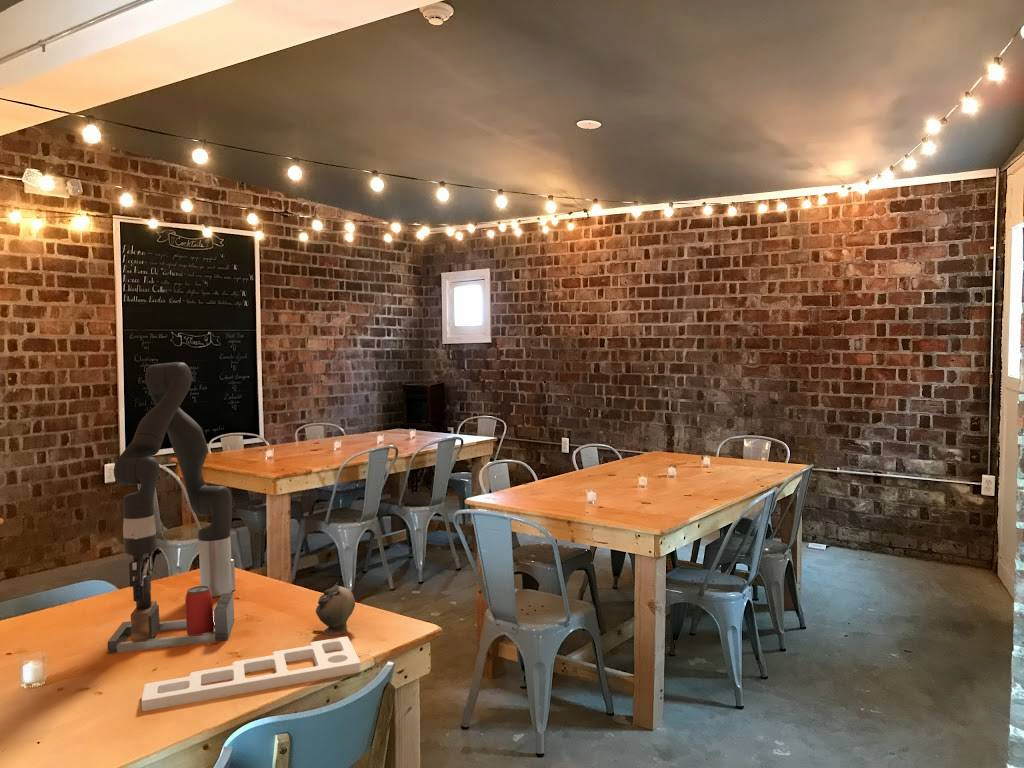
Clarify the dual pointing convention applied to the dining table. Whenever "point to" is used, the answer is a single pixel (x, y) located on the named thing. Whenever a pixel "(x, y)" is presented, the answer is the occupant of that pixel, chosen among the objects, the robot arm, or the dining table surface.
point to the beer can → (199, 610)
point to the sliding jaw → (145, 615)
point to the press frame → (221, 619)
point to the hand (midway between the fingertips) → (142, 595)
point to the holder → (194, 691)
